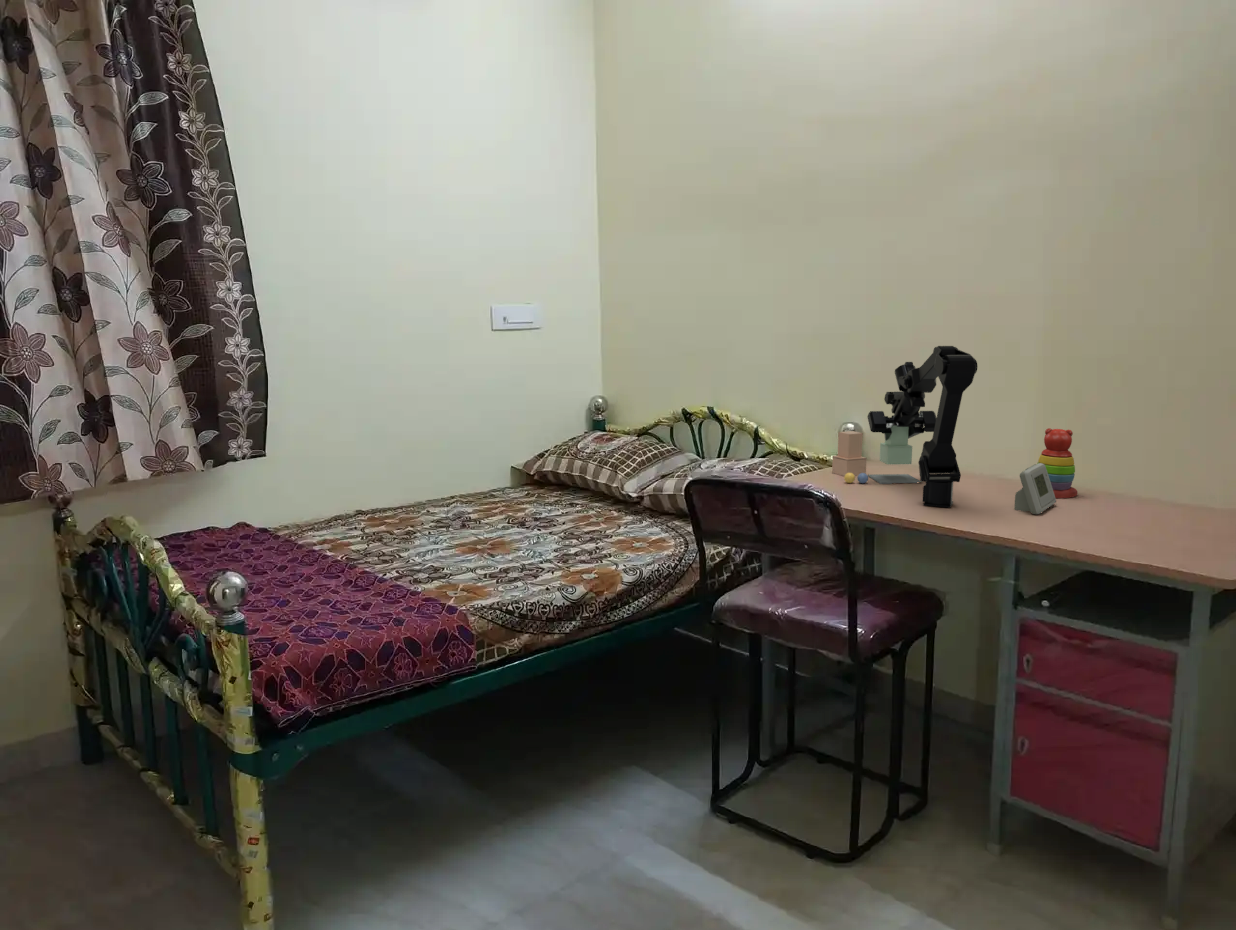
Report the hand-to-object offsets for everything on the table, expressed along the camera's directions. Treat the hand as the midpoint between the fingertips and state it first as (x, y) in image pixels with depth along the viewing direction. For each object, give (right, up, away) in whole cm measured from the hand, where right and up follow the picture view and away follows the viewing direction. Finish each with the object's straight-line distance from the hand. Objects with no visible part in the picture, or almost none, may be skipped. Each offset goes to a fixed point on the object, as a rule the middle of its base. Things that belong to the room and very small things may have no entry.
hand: (894, 439), depth 269 cm
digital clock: (+24, -19, -38) cm, 49 cm away
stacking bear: (+36, -16, -21) cm, 45 cm away
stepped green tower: (0, -7, 0) cm, 7 cm away
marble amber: (-14, -11, -3) cm, 18 cm away
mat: (0, -12, +1) cm, 12 cm away
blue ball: (-11, -11, -3) cm, 16 cm away
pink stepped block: (-11, -10, +10) cm, 18 cm away
